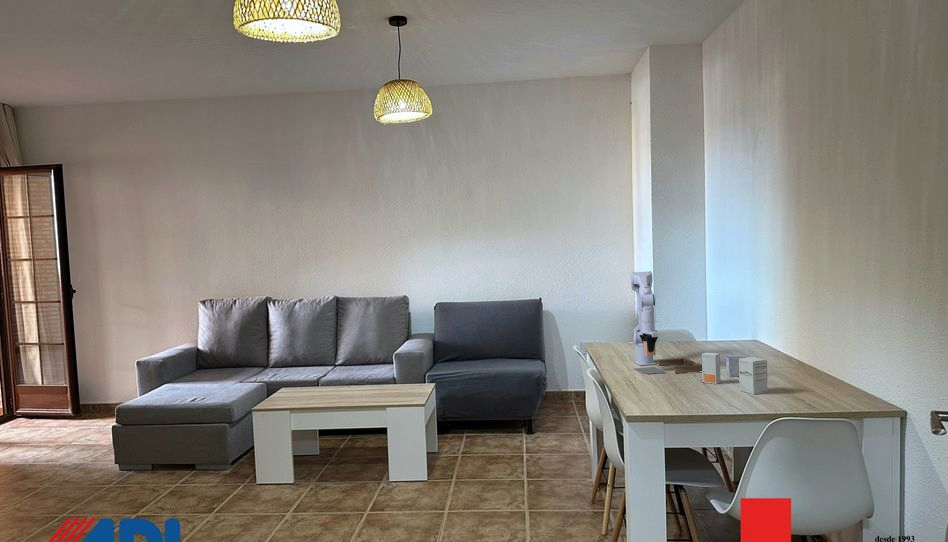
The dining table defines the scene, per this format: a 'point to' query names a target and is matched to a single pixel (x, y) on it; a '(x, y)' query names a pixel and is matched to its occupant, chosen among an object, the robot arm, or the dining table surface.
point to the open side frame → (689, 367)
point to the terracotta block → (647, 350)
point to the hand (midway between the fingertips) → (649, 351)
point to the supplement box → (753, 375)
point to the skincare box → (711, 368)
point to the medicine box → (733, 364)
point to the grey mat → (649, 370)
